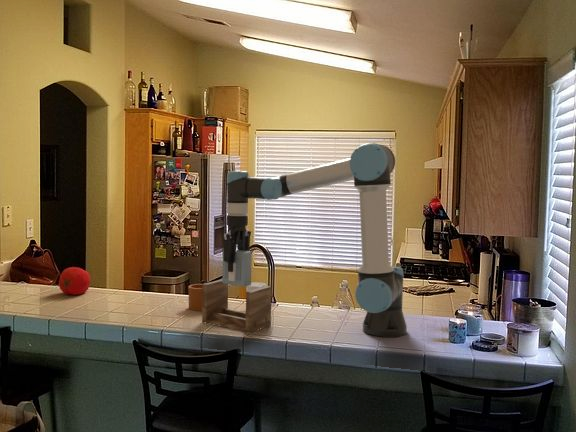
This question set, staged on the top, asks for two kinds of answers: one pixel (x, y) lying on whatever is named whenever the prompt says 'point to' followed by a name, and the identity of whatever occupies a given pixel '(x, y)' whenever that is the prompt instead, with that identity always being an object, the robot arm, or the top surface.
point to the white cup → (255, 286)
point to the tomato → (74, 281)
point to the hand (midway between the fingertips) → (236, 279)
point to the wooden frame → (244, 321)
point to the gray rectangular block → (239, 269)
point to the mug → (195, 297)
